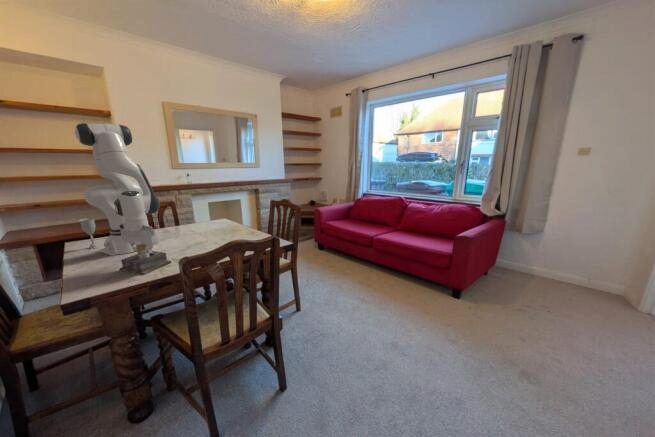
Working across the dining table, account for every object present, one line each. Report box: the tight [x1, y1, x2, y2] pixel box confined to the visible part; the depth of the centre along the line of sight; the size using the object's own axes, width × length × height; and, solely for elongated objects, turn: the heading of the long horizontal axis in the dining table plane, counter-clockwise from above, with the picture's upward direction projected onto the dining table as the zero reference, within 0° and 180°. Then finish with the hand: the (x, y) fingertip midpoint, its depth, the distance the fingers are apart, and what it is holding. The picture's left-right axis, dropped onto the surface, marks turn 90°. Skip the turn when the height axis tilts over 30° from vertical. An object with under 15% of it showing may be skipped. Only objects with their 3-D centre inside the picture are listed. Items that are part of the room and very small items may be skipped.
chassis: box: [119, 250, 172, 276], centre depth 125 cm, size 17×14×6 cm
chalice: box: [78, 217, 100, 249], centre depth 153 cm, size 7×7×18 cm
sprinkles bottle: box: [135, 240, 150, 260], centre depth 124 cm, size 5×5×13 cm
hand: (143, 251), depth 124 cm, fingers open, 8 cm apart
